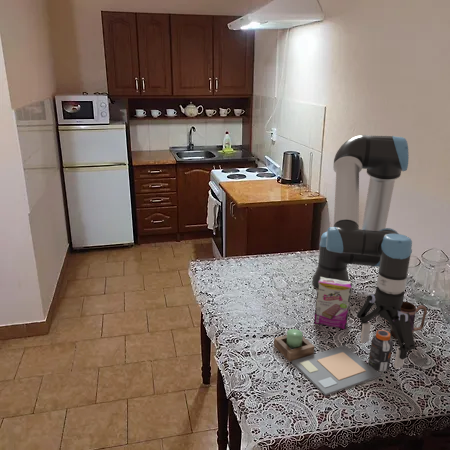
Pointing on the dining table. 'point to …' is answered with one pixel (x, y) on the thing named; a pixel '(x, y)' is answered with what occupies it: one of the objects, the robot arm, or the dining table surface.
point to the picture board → (335, 369)
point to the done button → (294, 338)
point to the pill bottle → (380, 351)
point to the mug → (411, 316)
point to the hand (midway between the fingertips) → (380, 353)
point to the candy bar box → (332, 302)
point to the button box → (295, 353)
